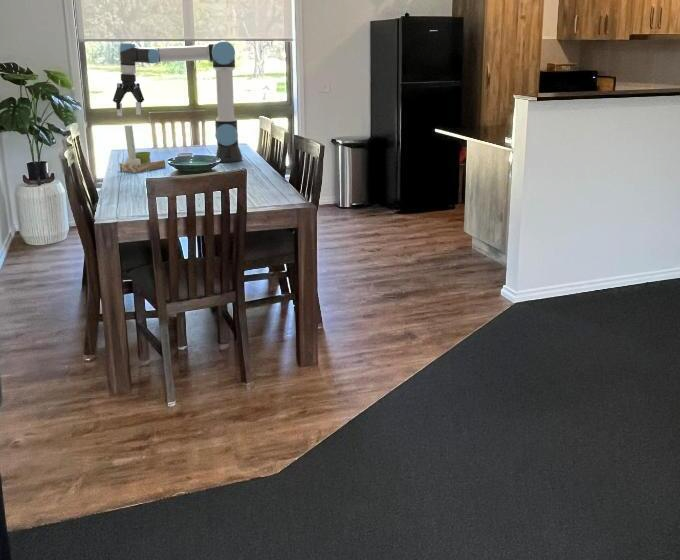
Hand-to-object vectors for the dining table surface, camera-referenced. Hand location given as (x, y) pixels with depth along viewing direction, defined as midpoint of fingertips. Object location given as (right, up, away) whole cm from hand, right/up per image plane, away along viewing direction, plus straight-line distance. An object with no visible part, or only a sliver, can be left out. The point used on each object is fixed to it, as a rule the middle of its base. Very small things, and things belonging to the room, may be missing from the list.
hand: (129, 115), depth 391 cm
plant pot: (+4, -27, +12) cm, 30 cm away
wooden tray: (+4, -27, +12) cm, 29 cm away
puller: (+1, -28, +8) cm, 29 cm away
